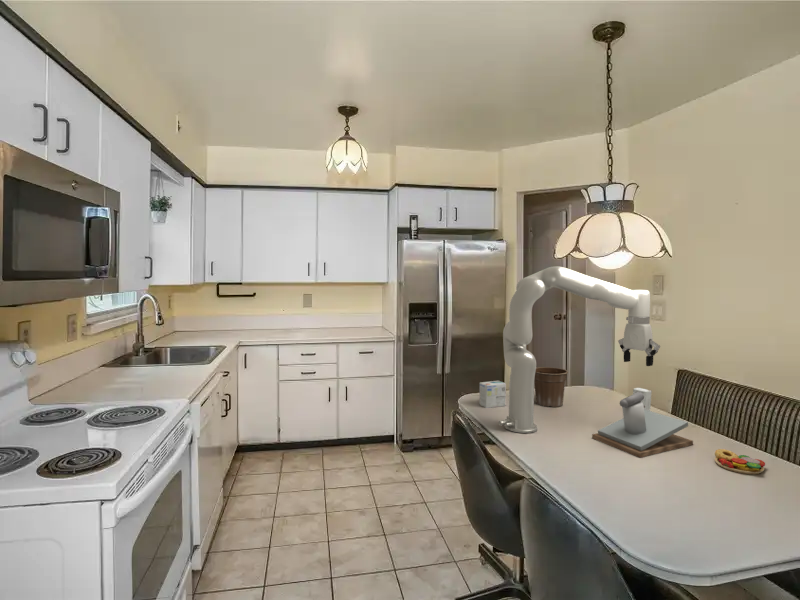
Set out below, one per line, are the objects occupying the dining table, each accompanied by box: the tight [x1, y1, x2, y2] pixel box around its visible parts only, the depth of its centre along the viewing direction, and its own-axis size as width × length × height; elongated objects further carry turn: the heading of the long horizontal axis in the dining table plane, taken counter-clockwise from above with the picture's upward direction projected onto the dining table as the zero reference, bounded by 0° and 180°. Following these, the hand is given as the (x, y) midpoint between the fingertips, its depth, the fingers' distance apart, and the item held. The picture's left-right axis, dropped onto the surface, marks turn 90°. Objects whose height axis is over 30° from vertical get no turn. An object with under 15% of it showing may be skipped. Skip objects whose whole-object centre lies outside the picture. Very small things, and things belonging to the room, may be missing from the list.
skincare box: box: [632, 387, 652, 411], centre depth 197 cm, size 6×4×12 cm
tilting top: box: [597, 392, 689, 451], centre depth 168 cm, size 25×18×14 cm
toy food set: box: [714, 448, 766, 475], centre depth 147 cm, size 13×13×3 cm
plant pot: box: [534, 366, 569, 408], centre depth 217 cm, size 16×16×16 cm
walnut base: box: [591, 432, 694, 458], centre depth 169 cm, size 28×20×2 cm
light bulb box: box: [479, 380, 507, 409], centre depth 214 cm, size 11×7×11 cm, turn 111°
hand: (637, 363), depth 182 cm, fingers open, 9 cm apart
